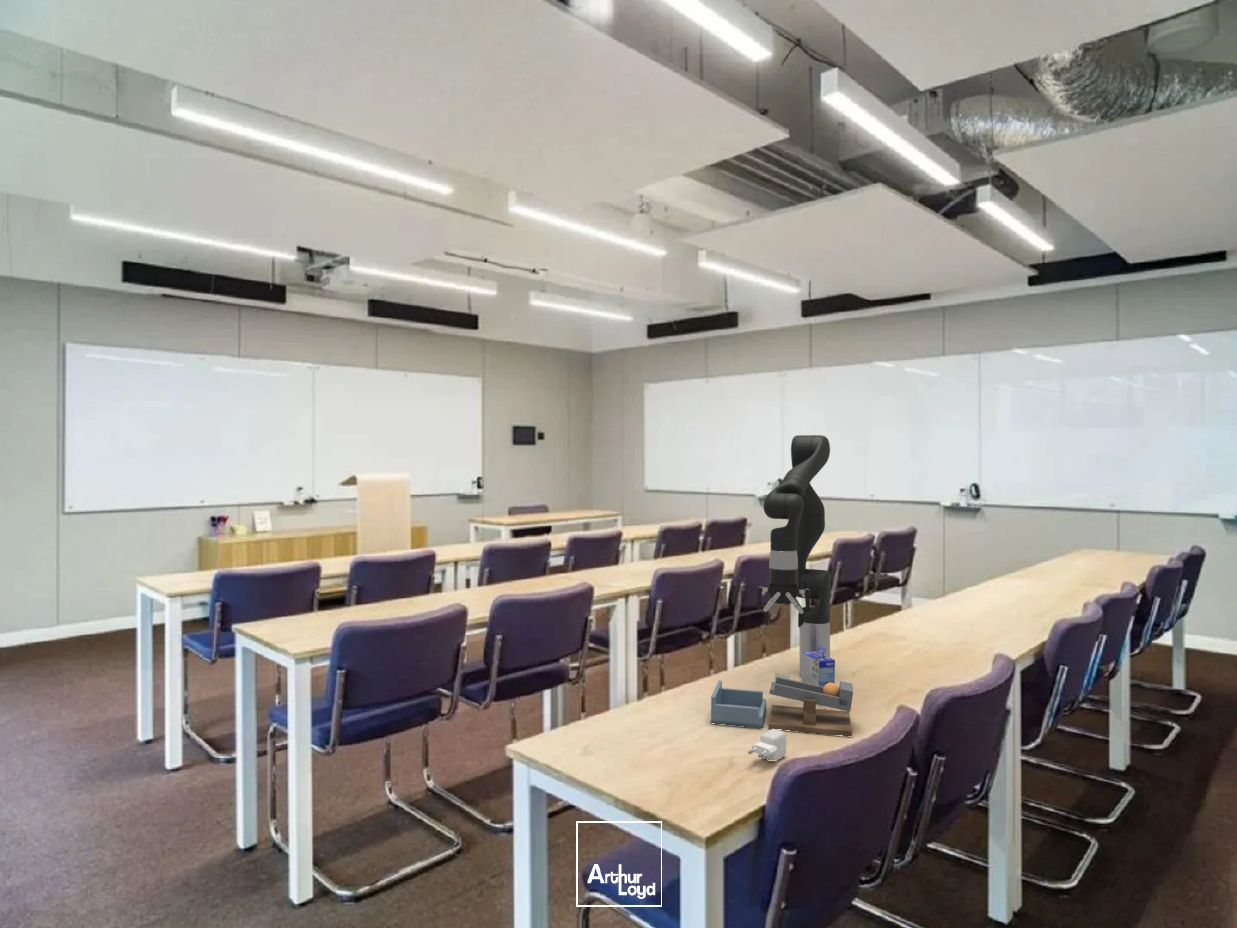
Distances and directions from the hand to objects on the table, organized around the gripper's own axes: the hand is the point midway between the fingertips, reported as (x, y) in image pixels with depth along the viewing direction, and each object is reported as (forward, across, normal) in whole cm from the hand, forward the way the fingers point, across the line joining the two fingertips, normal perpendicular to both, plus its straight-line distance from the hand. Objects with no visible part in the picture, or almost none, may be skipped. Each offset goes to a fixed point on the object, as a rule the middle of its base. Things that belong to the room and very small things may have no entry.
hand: (783, 625), depth 196 cm
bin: (+23, +11, +9) cm, 27 cm away
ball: (+14, -12, +9) cm, 21 cm away
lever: (+17, -7, +5) cm, 19 cm away
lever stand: (+23, -7, +9) cm, 26 cm away
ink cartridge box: (+23, -9, -11) cm, 27 cm away
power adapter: (+24, +2, +35) cm, 42 cm away
